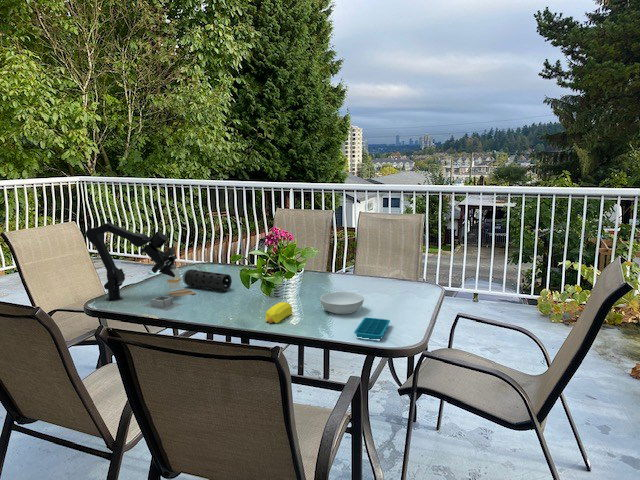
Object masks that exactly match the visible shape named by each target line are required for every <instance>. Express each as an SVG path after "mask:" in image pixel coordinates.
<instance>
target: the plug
mask: <svg viewBox="0 0 640 480" xmlns="http://www.w3.org/2000/svg"><path fill="white" fill-rule="evenodd" d="M170 270H171V271H172V272H173V273H174V275H175V277H171V276H169V275H167V276H168V277H167V278H168V279H167V281H166V282H167V283H168V289H169V290H177V289H178V290H179V288H181V287H180V285H181V283H180V281H181V280H182V278H181V277H180V268H178V267H177V264H174V265H171V269H170Z"/></svg>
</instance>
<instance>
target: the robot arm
mask: <svg viewBox="0 0 640 480" xmlns="http://www.w3.org/2000/svg"><path fill="white" fill-rule="evenodd" d="M108 232H109V233H111V234H114V235H116V236H118V237H121V238H122V239H125V240H127V241H128V242H130V244H132V245H133V246H135V247H137V248H140V249H139V250H140V252H139V254H140V255H142V254H143V255H144V254H146V255H147V256H148V257H149V258H150V261H151V262H153V263H155V264H154V265H153V266H152V267H151V272H153V274H156V273H160V274H163V275H166V276H168V275H169V276H171V277H175V275H174V273H173V272H172V271H171V270H170V269H171V265H175V262H176V260H177V259H178V257H177V256H176V249H175V248H173V247H168V248H167V250H166V251H163V250H159V249H160V248H162V247H163V246H164V245H165V244H166V242H168V241H169V238H168V237H167V235H166V234H164V233H162V232H160V231H159V230H158V231H155V233H154V235H153V236H152V237H151V236H148V235H147V234H145V233H140V232H134V231H133V232H132V231H131V230H128V229H127V228H124V227H121V226H119V225H116V224H114V223H112V222H106V223H103V224H102V225H100V226H95V227H94V226H93V227H90V228H88V229H86V231H85V237H86V238H87V240H88V241H89V243H91V244H92V245H93V246H94V247H95V249H96V251H97V253H98V256H99V258H100V259H101V262H102V265H103V266H104V268H105V271H106V279H107V281H106V282H105V284H104V285H103V288H104V290H107V297H106V298H107V299H106V300H107V301H109V302H112V301H117V300H123V297H122V296H121V290H120V288H121V286H122V285H123V283H124V282H125V279H126V274H125V273H124V270H123V268H118V267H117V266H116V264H115V262H114V260H113V257H112V255H111V253H110V251H109V248H108V247H107V245H106V242H105V234H106V233H108ZM143 246H144V247H143ZM141 247H142V248H141Z"/></svg>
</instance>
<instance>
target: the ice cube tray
mask: <svg viewBox="0 0 640 480" xmlns="http://www.w3.org/2000/svg"><path fill="white" fill-rule="evenodd" d="M390 322H391V320H390V319H385V318H376V317H375V318H374V317H363V319H362V320H361V322H360V323H359V324H358V326H356V328H355V330H354V331H353V333H354V334H355V335H356V336H357V337H362V338H369V339H381V337H382V336H383V337H384V335H385V333H386V331H387V330H386V329H388V328H387V327H389V324H390ZM385 330H386V331H385ZM384 332H385V333H384ZM383 334H384V335H383ZM383 337H382V338H383ZM381 340H382V339H381Z"/></svg>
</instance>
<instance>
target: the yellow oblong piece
mask: <svg viewBox="0 0 640 480" xmlns="http://www.w3.org/2000/svg"><path fill="white" fill-rule="evenodd" d="M292 314H293V307H292V305H291V304H290V302H284V301H280V302H278V303H276V304H274V305H273V306H271V307H270V308H268V309H267V311H266V312H265V316H264V318H265V321H266V322H267V323H268V322H269V323H270V324H272V323H275V324H278V323H280V322H281V321H282V320H284V319H286V318H287V317H289V316H291V315H292Z"/></svg>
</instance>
